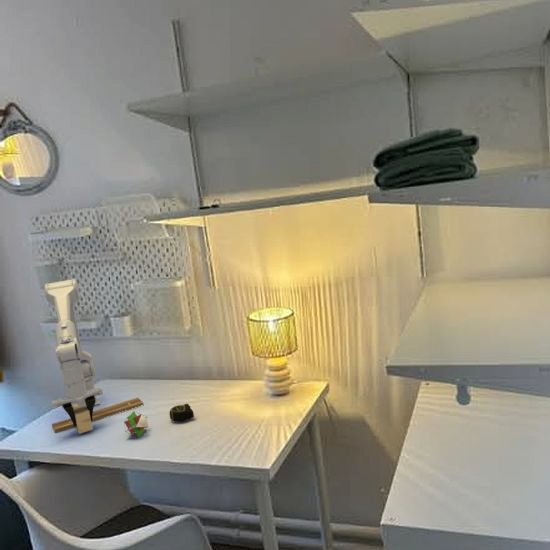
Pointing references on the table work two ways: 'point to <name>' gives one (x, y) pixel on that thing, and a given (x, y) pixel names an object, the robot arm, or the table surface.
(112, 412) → the brown wooden flat strip
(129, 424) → the geometric puzzle
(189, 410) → the tape measure
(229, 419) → the table surface
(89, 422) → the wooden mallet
